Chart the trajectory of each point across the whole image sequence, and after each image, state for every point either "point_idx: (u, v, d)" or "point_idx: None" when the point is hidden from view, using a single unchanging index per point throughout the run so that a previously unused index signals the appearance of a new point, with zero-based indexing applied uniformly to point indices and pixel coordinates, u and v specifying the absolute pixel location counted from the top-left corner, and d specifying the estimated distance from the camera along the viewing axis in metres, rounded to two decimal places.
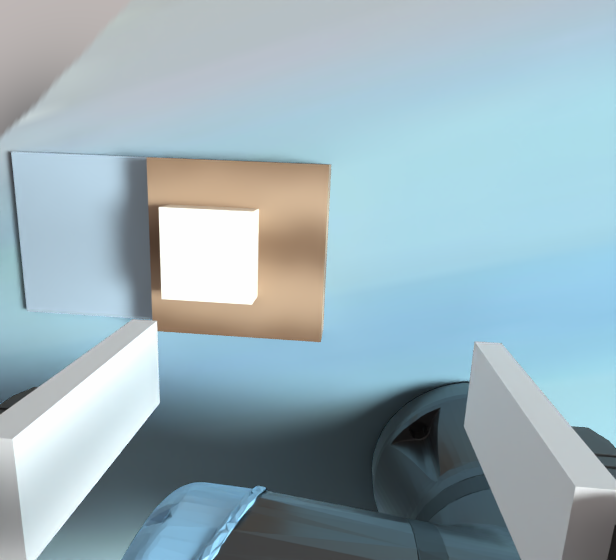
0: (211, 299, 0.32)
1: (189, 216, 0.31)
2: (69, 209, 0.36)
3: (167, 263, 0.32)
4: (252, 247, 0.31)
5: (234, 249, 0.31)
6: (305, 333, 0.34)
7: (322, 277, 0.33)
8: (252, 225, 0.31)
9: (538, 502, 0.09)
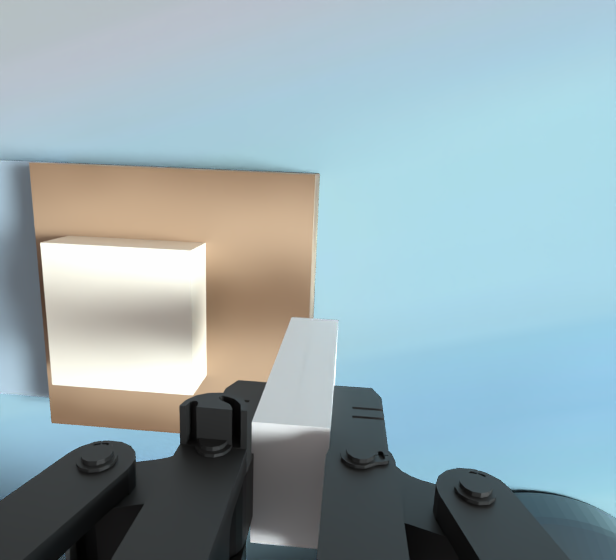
0: (129, 386, 0.20)
1: (89, 257, 0.19)
2: None
3: (58, 330, 0.20)
4: (191, 306, 0.19)
5: (162, 309, 0.19)
6: None
7: None
8: (190, 272, 0.19)
9: None
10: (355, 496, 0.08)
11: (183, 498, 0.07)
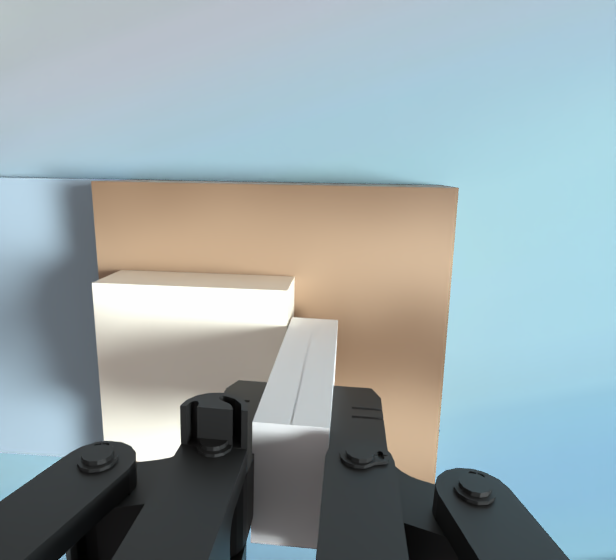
0: None
1: (155, 301, 0.15)
2: None
3: (114, 392, 0.16)
4: None
5: (247, 365, 0.15)
6: None
7: (438, 404, 0.17)
8: (286, 318, 0.15)
9: None
10: (354, 496, 0.08)
11: (184, 498, 0.07)
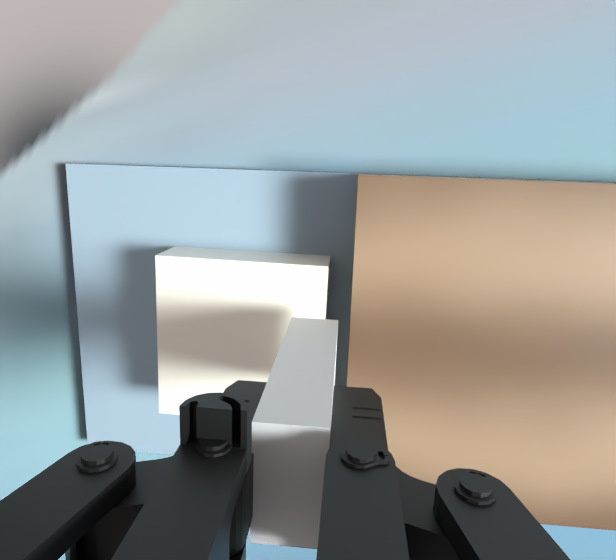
0: None
1: (211, 273, 0.17)
2: None
3: (170, 353, 0.18)
4: None
5: None
6: None
7: None
8: (326, 291, 0.17)
9: None
10: (355, 496, 0.08)
11: (183, 498, 0.07)
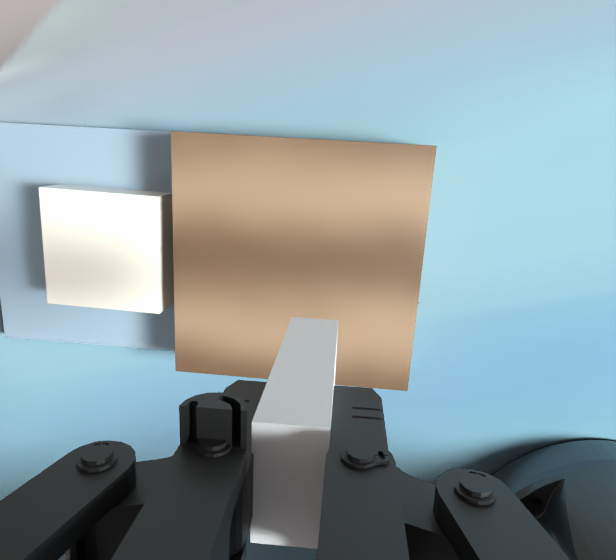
0: (109, 305, 0.25)
1: (78, 200, 0.24)
2: None
3: (52, 259, 0.25)
4: (159, 242, 0.24)
5: (135, 243, 0.24)
6: (386, 379, 0.25)
7: (415, 304, 0.24)
8: (158, 214, 0.24)
9: None
10: (355, 496, 0.08)
11: (183, 498, 0.07)
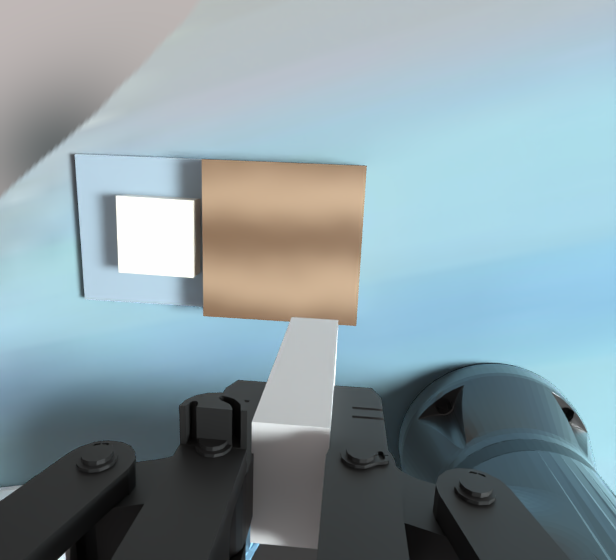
0: (159, 273, 0.39)
1: (141, 203, 0.37)
2: None
3: (123, 242, 0.38)
4: (192, 230, 0.38)
5: (177, 231, 0.38)
6: (342, 318, 0.38)
7: (358, 267, 0.37)
8: (192, 212, 0.37)
9: None
10: (355, 496, 0.08)
11: (183, 498, 0.07)
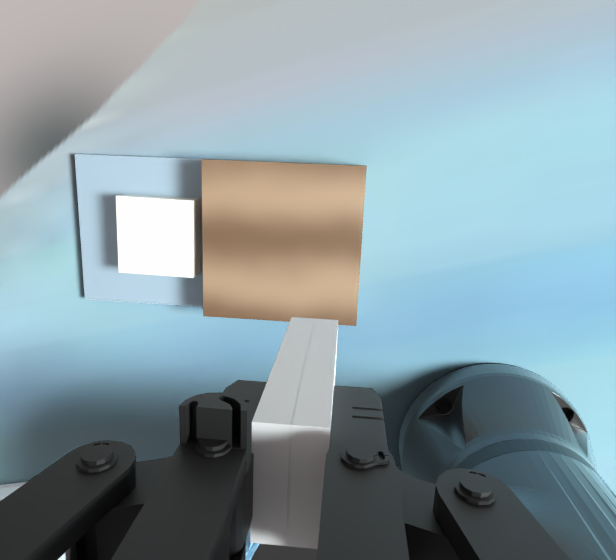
0: (159, 273, 0.39)
1: (141, 203, 0.37)
2: None
3: (123, 242, 0.38)
4: (192, 230, 0.38)
5: (177, 231, 0.38)
6: (342, 318, 0.38)
7: (358, 267, 0.37)
8: (192, 212, 0.37)
9: None
10: (355, 496, 0.08)
11: (183, 498, 0.07)
